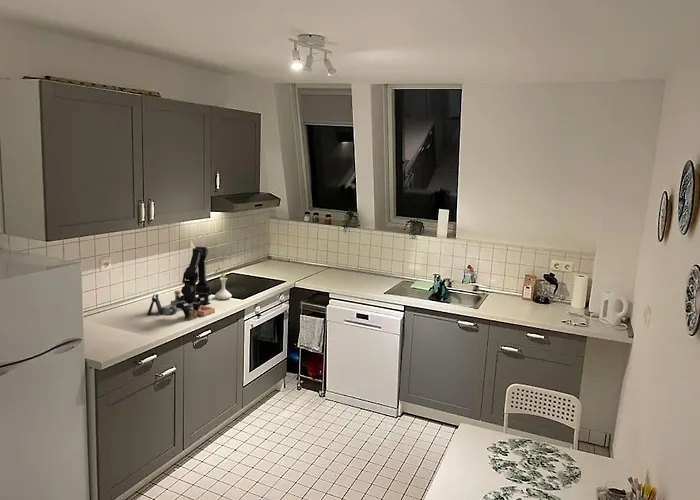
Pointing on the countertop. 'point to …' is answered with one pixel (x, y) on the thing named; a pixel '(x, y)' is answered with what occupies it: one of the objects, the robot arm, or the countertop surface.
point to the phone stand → (156, 305)
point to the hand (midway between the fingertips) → (190, 316)
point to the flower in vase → (223, 292)
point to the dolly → (172, 308)
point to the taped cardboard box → (192, 314)
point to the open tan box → (205, 311)
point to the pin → (176, 295)
